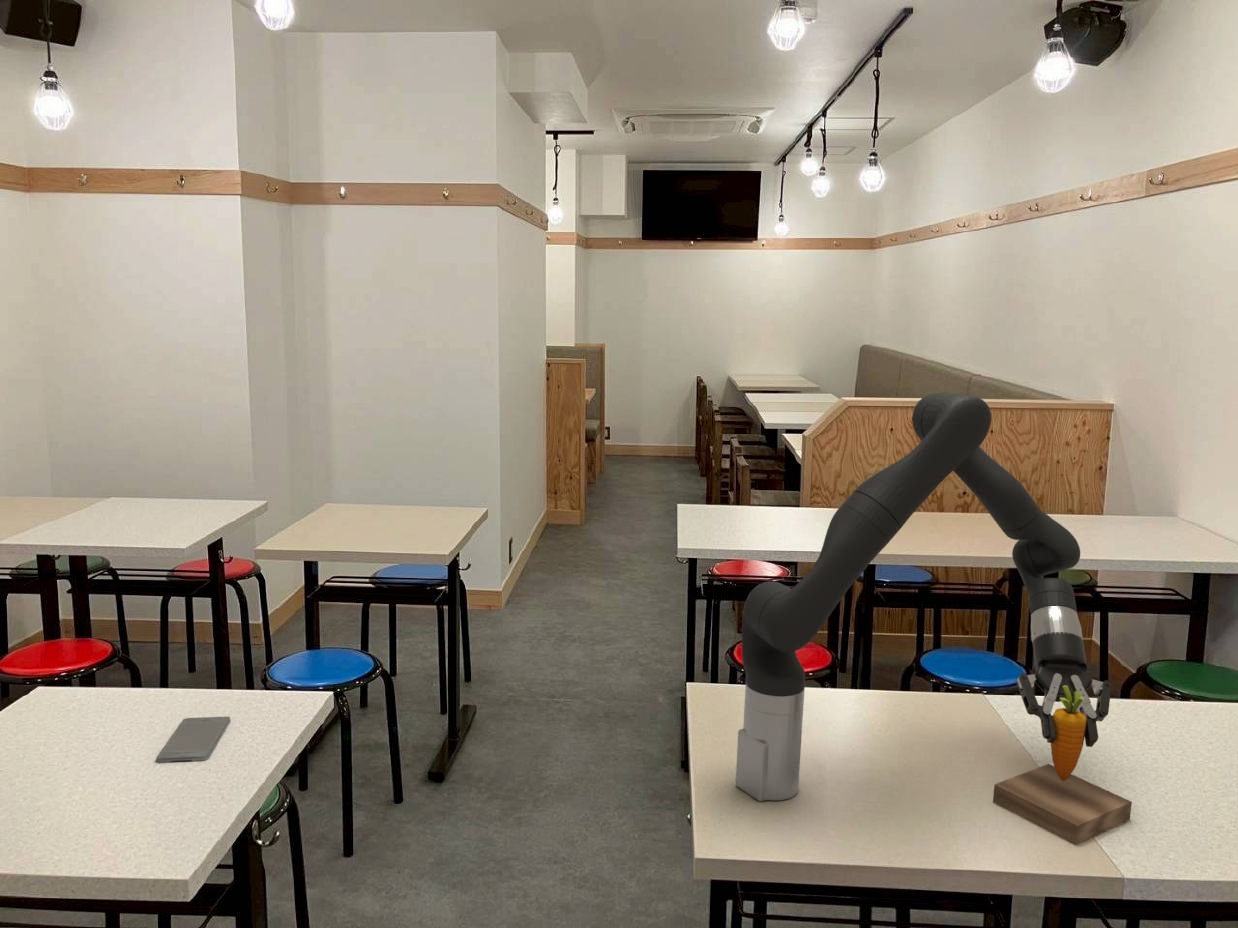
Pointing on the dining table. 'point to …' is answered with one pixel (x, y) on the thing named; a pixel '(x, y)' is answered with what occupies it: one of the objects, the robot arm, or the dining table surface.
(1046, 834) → the dining table surface
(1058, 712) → the carrot
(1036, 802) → the walnut plinth
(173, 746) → the phone
